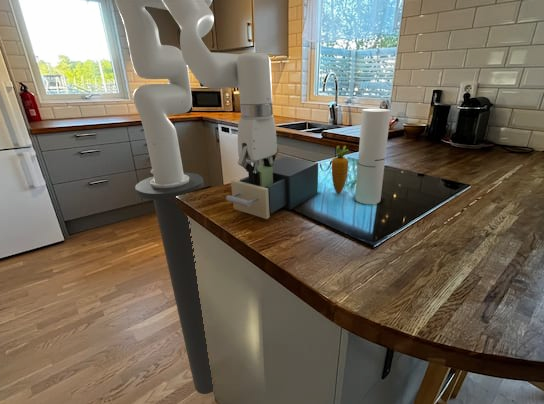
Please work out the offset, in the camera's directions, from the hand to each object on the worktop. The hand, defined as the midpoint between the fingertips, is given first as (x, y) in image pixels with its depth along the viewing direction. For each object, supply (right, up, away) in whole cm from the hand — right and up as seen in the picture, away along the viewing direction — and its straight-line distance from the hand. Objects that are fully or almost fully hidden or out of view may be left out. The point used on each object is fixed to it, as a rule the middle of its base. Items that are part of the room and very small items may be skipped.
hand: (261, 183), depth 77 cm
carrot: (+22, -3, +13) cm, 26 cm away
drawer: (0, -6, +2) cm, 7 cm away
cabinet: (+6, -3, +12) cm, 14 cm away
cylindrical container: (+30, -4, +9) cm, 32 cm away
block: (0, 0, 0) cm, 0 cm away
